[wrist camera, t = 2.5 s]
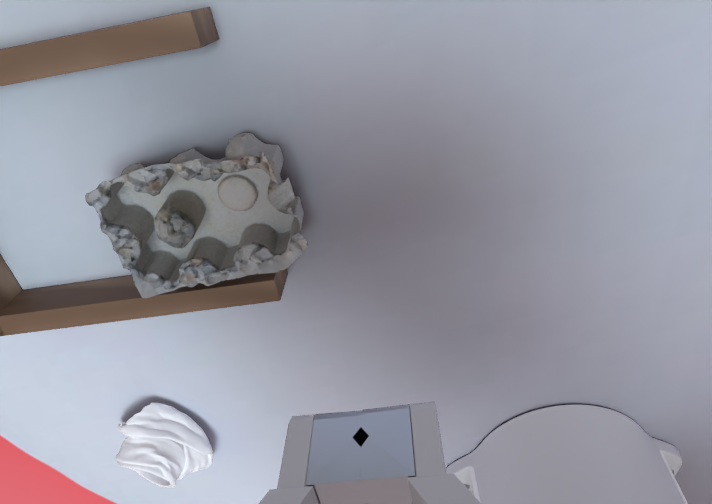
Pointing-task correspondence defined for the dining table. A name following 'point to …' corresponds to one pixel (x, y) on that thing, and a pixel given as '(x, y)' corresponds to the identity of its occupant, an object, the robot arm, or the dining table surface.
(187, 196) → the egg carton
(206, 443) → the white crumpled cloth
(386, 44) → the dining table surface
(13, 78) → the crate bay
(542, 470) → the robot arm
